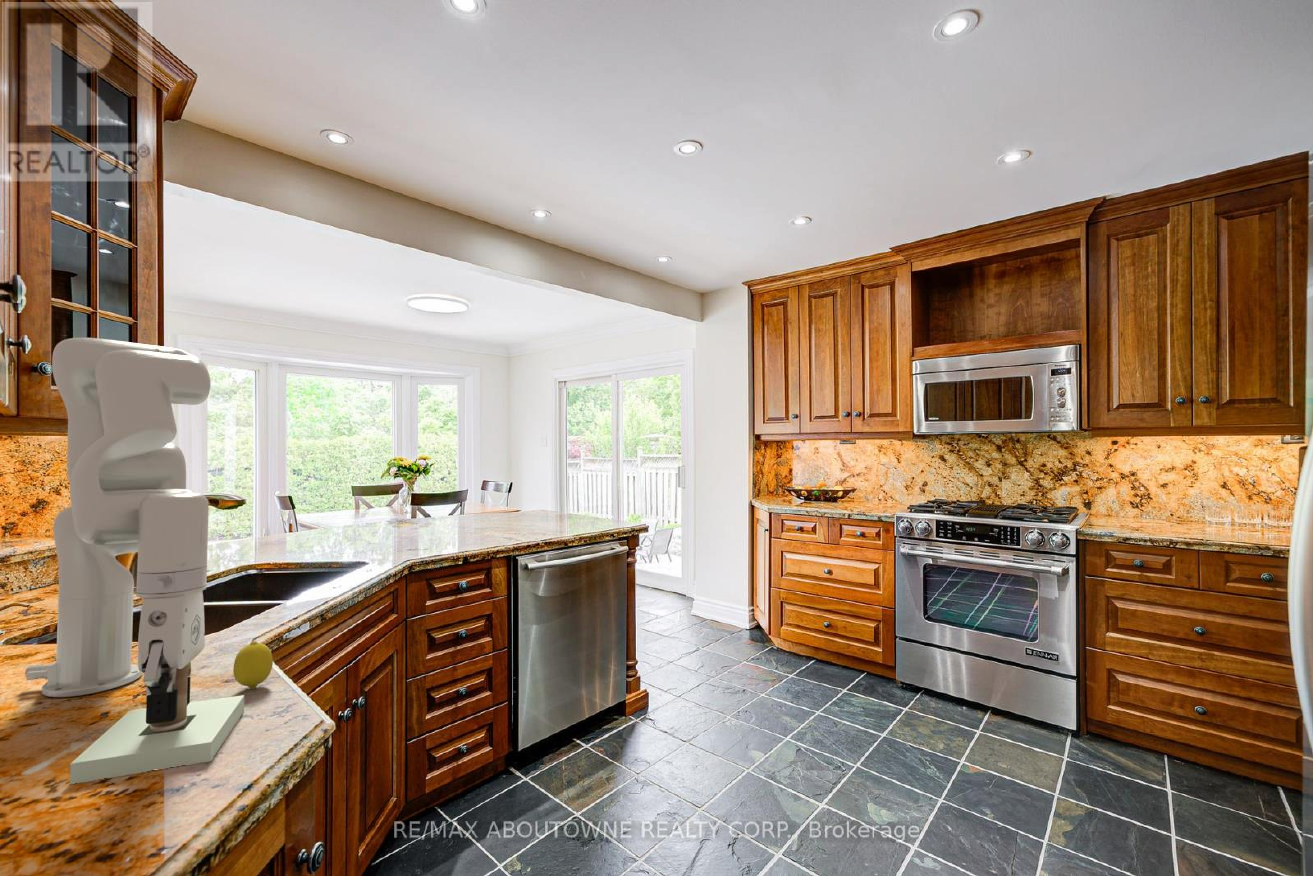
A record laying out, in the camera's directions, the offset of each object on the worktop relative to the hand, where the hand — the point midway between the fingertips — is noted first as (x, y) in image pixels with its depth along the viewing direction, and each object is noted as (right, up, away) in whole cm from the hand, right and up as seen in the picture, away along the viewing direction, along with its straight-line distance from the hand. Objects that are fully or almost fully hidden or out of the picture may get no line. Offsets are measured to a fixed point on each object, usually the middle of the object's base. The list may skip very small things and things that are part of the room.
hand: (168, 712), depth 80 cm
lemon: (-1, -5, +19) cm, 19 cm away
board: (0, -4, 0) cm, 4 cm away
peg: (0, -4, 0) cm, 4 cm away
